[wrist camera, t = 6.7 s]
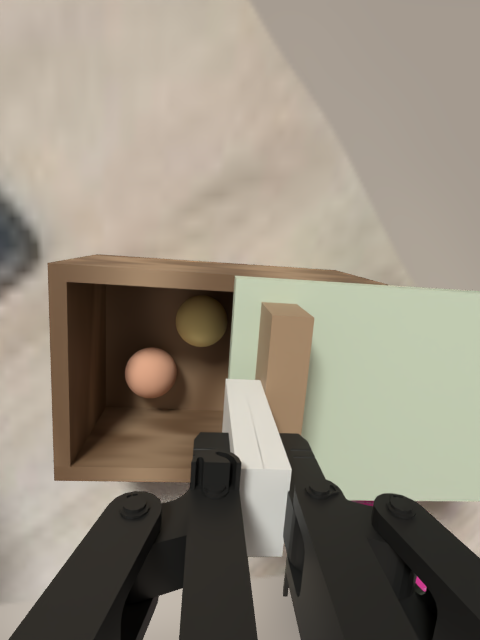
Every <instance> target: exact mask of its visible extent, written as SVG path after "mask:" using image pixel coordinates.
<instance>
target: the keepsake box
mask: <svg viewBox="0 0 480 640" xmlns="http://www.w3.org/2000/svg"><path fill="white" fill-rule="evenodd" d="M235 276H249V277H264V278H280V279H296V280H311V281H327V282H343V283H358V284H374V285H387V284H384V283H380V282H376V281H373V280H369V279H365V278H362V277H358V276H354V275H351V274H347V273H343V272H340V271H336V270H322V269H307V268H292V267H277V266H262V265H247V264H232V263H217V262H202V261H187V260H172V259H157V258H142V257H127V256H112V255H91V256H85V257H80V258H74V259H68V260H62V261H56V262H51V263H48V288H49V321H50V353H51V385H52V418H53V450H54V480H55V481H127V482H190V477H191V461H192V459H193V446H194V439H195V438H196V437H197V435H198V434H199V433H200V432H221V433H222V426H223V411H224V396H225V381H226V379H228V368H229V353H230V339H231V324H232V310H233V295H234V281H235ZM199 295H204V296H209V297H212V298H214V299H216V300H217V301H218V302H219V303H220V304H221V305H222V306H223V308H224V309H225V312H226V314H227V328H226V331H225V333H224V335H223V336H222V338H221V339H220V340H219V341H217V342H216V343H214V344H213V345H210V346H206V347H197V346H193V345H190V344H189V343H187V342H186V341H184V340H183V339H182V337H181V336H180V335H179V333H178V331H177V328H176V315H177V312H178V309H179V308H180V306H181V305H182V304H183V303H184V302H185V301H186V300H188V299H189V298H191V297H194V296H199ZM149 347H155V348H159V349H162V350H164V351H166V352H167V353H168V354H170V356H171V357H172V358H173V360H174V362H175V364H176V368H177V377H176V380H175V383H174V385H173V386H172V388H171V389H170V390H169V391H168V392H167V393H166V394H164V395H162V396H160V397H157V398H143V397H140V396H138V395H137V394H135V393H134V392H133V391H132V390H131V389H130V388H129V386H128V384H127V382H126V379H125V368H126V365H127V363H128V361H129V359H130V358H131V357H132V355H133V354H135V353H136V352H137V351H139V350H141V349H144V348H149Z"/></svg>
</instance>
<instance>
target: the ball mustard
mask: <svg viewBox="0 0 480 640" xmlns="http://www.w3.org/2000/svg"><path fill="white" fill-rule="evenodd" d="M176 328H177V331H178V333H179V335H180V336H181V337H182V339H183V340H184V341H186V342H187V343H189V344H190V345H193V346H197V347H206V346H210V345H213V344H214V343H216V342H217V341H219V340H220V339H221V338H222V336H223V335H224V333H225V331H226V328H227V314H226V312H225V309H224V308H223V306H222V305H221V304H220V303H219V302H218V301H217V300H216V299H214V298H212V297H209V296H204V295H199V296H194V297H191V298H189V299H188V300H186V301H185V302H184V303H183V304H182V305H181V306H180V308H179V309H178V312H177V315H176Z"/></svg>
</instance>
